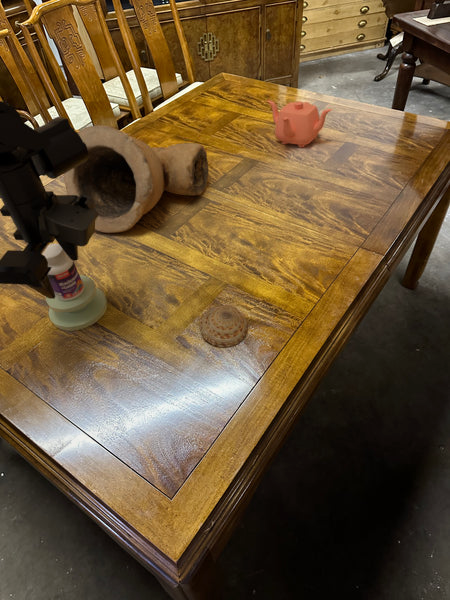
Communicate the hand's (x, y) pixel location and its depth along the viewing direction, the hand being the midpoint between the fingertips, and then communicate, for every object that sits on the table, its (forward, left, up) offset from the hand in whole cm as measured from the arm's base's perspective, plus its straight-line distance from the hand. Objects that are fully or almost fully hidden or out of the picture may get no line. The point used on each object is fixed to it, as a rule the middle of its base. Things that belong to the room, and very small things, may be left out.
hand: (64, 278), depth 68 cm
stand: (-4, +5, -13) cm, 14 cm away
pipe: (-1, +44, -13) cm, 46 cm away
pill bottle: (-4, +5, -8) cm, 10 cm away
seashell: (+25, +2, -13) cm, 28 cm away
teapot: (+36, +76, -13) cm, 85 cm away
